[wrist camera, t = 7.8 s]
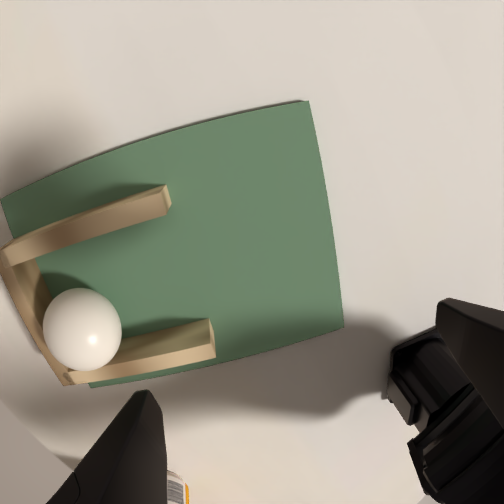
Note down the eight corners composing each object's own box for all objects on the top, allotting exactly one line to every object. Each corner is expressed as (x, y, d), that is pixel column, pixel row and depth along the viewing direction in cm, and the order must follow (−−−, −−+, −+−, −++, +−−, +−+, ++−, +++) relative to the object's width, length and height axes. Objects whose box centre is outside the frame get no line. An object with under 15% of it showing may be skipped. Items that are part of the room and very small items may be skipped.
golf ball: (31, 318, 16) (72, 260, 16) (88, 356, 18) (129, 304, 19) (25, 359, 12) (73, 290, 13) (98, 400, 14) (146, 341, 15)
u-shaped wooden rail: (166, 184, 16) (159, 193, 13) (214, 331, 19) (216, 357, 17) (13, 238, 15) (-8, 253, 13) (73, 361, 19) (63, 385, 16)
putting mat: (306, 101, 16) (308, 100, 15) (341, 324, 21) (344, 327, 20) (3, 197, 15) (0, 199, 14) (92, 384, 20) (90, 388, 19)
